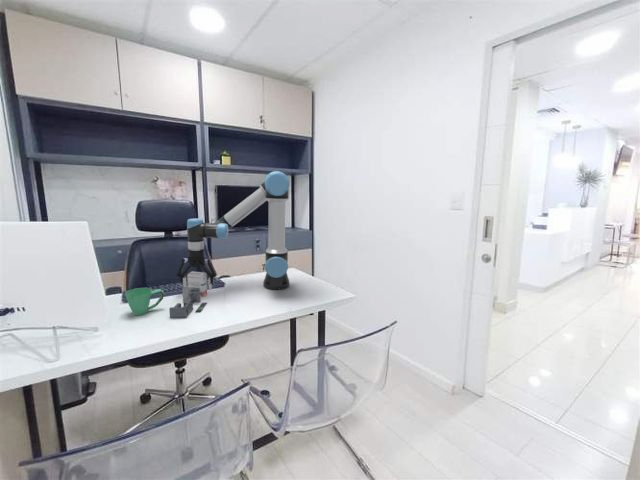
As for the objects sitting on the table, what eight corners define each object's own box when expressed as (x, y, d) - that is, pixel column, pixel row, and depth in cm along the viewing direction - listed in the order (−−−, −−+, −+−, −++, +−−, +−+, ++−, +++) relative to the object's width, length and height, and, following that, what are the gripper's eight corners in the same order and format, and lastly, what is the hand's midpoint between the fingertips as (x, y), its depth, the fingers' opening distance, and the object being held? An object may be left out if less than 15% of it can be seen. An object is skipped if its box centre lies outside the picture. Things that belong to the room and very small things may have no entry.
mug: (128, 319, 125) (126, 297, 123) (126, 311, 133) (124, 290, 131) (166, 312, 134) (165, 291, 132) (162, 304, 142) (161, 284, 140)
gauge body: (207, 302, 145) (207, 294, 145) (196, 318, 129) (196, 308, 128) (183, 302, 144) (183, 294, 144) (169, 318, 128) (169, 308, 127)
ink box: (208, 293, 157) (207, 272, 155) (203, 297, 153) (202, 274, 150) (192, 292, 158) (191, 270, 156) (187, 295, 153) (186, 273, 151)
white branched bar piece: (206, 300, 147) (206, 287, 146) (201, 307, 139) (201, 293, 138) (183, 300, 146) (183, 287, 145) (177, 307, 138) (176, 293, 137)
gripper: (222, 247, 156) (223, 287, 160) (174, 247, 153) (176, 286, 157) (218, 251, 148) (219, 292, 152) (168, 250, 146) (170, 291, 150)
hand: (197, 289), depth 155 cm, fingers open, 12 cm apart
